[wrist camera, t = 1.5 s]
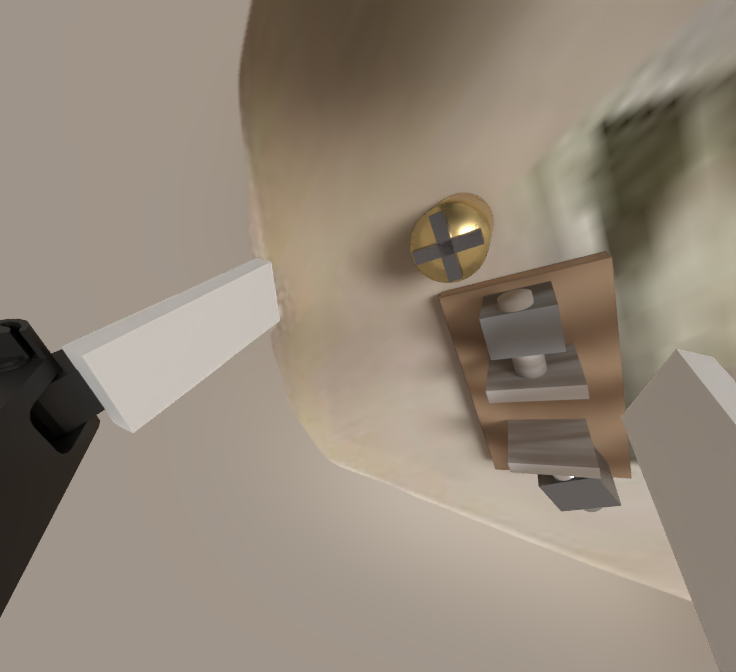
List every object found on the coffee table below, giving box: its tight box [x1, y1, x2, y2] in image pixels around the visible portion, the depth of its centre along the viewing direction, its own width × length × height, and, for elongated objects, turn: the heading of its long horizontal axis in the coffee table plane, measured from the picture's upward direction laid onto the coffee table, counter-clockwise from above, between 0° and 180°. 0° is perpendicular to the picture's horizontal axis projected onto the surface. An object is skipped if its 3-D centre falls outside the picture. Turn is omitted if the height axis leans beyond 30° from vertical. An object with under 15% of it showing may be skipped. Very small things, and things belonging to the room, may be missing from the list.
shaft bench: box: [439, 251, 631, 479], centre depth 25 cm, size 22×12×7 cm, turn 24°
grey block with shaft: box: [538, 446, 621, 512], centre depth 27 cm, size 6×5×4 cm
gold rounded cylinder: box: [410, 193, 494, 283], centre depth 21 cm, size 5×5×7 cm
